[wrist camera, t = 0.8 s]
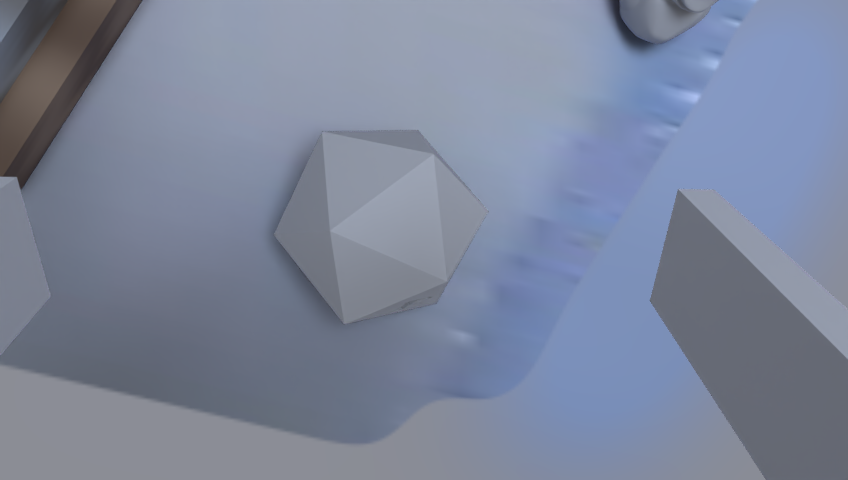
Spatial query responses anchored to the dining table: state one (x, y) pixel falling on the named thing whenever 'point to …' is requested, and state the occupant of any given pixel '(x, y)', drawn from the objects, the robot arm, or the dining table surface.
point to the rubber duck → (662, 17)
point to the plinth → (48, 69)
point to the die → (378, 222)
